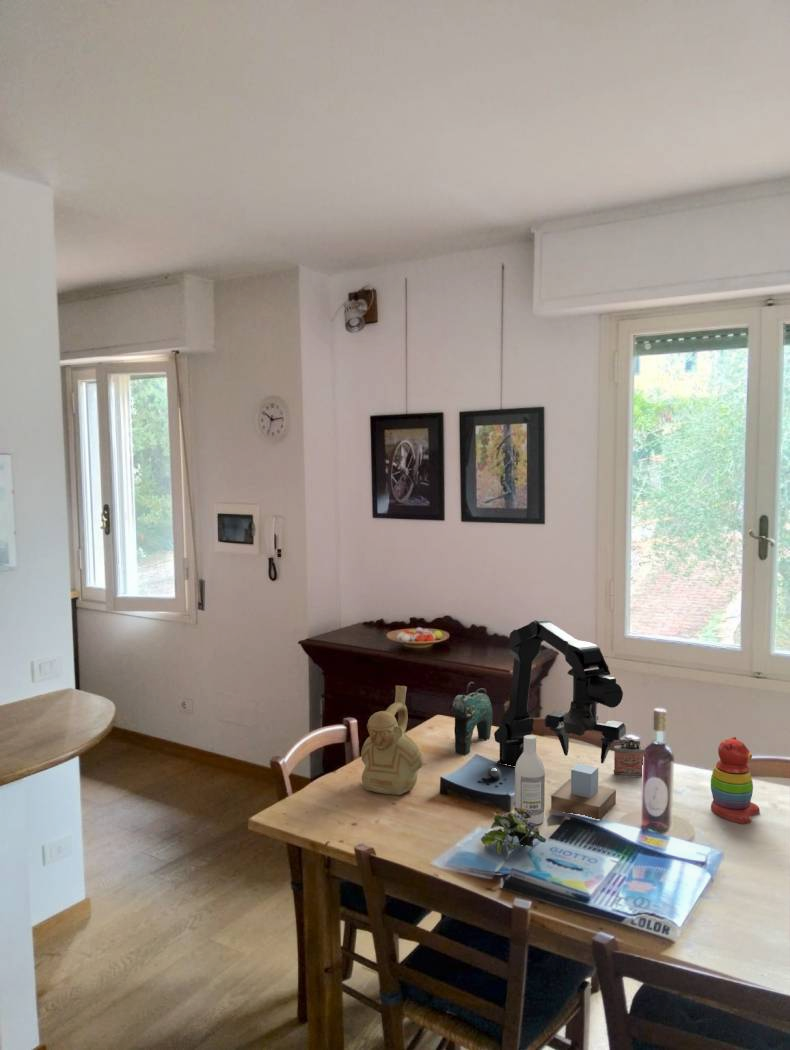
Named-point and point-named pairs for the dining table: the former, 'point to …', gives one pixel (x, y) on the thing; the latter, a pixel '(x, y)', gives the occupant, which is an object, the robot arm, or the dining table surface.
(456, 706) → the green elephant figurine
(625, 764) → the lighter
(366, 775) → the ceramic vessel
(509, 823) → the green leafy plant
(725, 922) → the dining table surface
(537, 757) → the bath foam
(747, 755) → the stacking bear
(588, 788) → the slate block
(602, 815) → the walnut slab
